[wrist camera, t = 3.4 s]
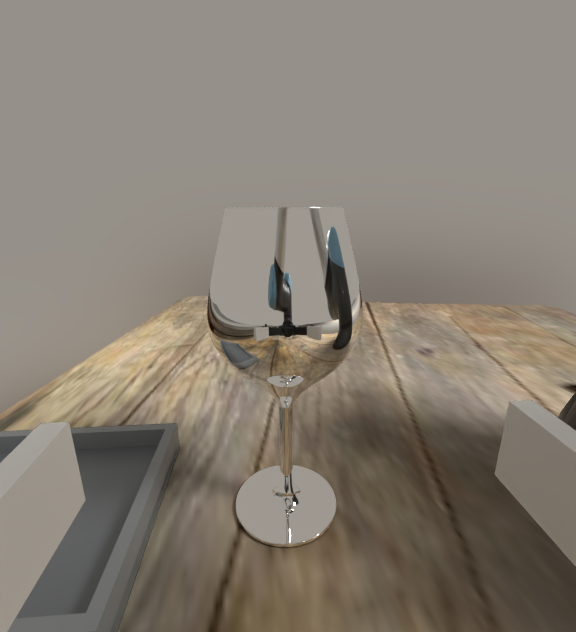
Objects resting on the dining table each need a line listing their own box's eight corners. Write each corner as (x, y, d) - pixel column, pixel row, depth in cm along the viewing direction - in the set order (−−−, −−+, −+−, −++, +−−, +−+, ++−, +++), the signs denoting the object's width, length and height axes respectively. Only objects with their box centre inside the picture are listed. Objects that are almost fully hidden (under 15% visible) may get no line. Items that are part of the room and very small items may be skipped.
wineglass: (227, 461, 26) (211, 207, 21) (336, 455, 27) (347, 207, 22) (213, 568, 19) (181, 207, 13) (367, 557, 19) (395, 206, 14)
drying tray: (179, 447, 28) (176, 423, 27) (104, 668, 15) (95, 630, 14) (-9, 457, 27) (-16, 432, 26) (-274, 702, 14) (-302, 664, 13)
